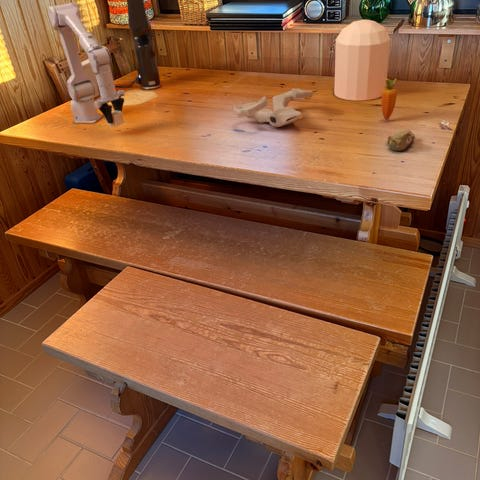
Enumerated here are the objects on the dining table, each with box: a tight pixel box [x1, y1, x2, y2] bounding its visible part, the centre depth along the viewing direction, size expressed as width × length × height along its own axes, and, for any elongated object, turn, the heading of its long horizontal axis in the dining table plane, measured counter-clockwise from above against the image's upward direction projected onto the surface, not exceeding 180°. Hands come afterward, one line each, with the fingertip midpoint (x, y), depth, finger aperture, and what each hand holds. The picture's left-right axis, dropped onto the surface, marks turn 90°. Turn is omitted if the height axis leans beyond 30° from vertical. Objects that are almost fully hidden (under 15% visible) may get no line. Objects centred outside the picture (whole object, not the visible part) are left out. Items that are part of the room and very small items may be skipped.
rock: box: [387, 129, 416, 152], centre depth 146 cm, size 11×6×10 cm
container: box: [333, 19, 391, 102], centre depth 186 cm, size 21×21×28 cm
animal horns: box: [231, 88, 314, 128], centre depth 171 cm, size 28×26×12 cm
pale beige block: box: [105, 109, 125, 128], centre depth 174 cm, size 5×5×4 cm
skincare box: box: [78, 58, 101, 99], centre depth 218 cm, size 21×6×16 cm, turn 158°
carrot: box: [380, 78, 398, 122], centre depth 161 cm, size 5×5×15 cm
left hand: (115, 120), depth 174 cm, fingers closed on pale beige block, 4 cm apart
